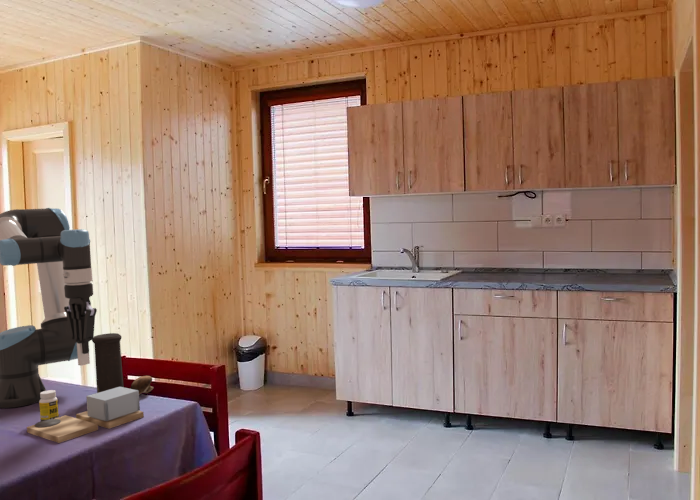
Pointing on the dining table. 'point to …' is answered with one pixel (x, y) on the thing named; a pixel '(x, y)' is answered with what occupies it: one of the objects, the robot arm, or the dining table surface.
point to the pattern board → (112, 422)
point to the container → (108, 361)
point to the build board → (62, 428)
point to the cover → (113, 403)
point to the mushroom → (142, 384)
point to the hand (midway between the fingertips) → (84, 364)
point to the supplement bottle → (48, 405)
